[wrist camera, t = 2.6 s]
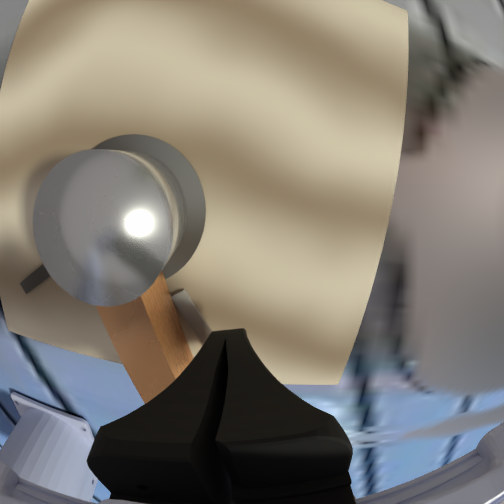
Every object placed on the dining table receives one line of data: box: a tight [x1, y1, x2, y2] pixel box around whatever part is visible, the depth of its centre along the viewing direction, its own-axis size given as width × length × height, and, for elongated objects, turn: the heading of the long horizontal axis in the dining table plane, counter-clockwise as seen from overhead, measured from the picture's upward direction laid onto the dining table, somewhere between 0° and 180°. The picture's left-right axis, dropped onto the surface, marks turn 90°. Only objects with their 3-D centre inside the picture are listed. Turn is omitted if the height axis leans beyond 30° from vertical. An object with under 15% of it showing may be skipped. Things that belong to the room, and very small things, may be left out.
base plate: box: [0, 0, 408, 385], centre depth 12 cm, size 20×20×2 cm
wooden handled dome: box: [33, 149, 193, 404], centre depth 10 cm, size 11×5×3 cm, turn 12°
